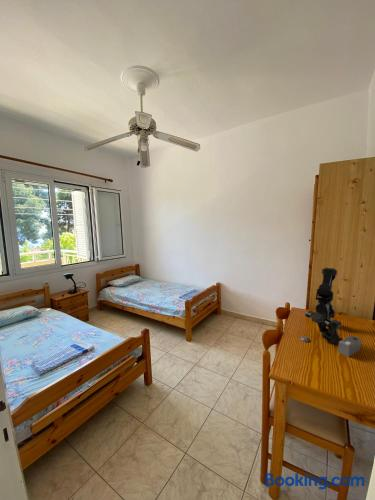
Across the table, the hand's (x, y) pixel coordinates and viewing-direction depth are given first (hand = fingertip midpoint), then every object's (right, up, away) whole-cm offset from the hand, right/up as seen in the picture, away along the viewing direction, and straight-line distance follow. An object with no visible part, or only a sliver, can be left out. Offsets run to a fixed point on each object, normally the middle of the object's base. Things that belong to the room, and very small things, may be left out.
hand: (321, 332), depth 127 cm
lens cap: (-11, -5, -1) cm, 12 cm away
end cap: (+3, -3, -1) cm, 4 cm away
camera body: (+7, -5, -13) cm, 16 cm away
